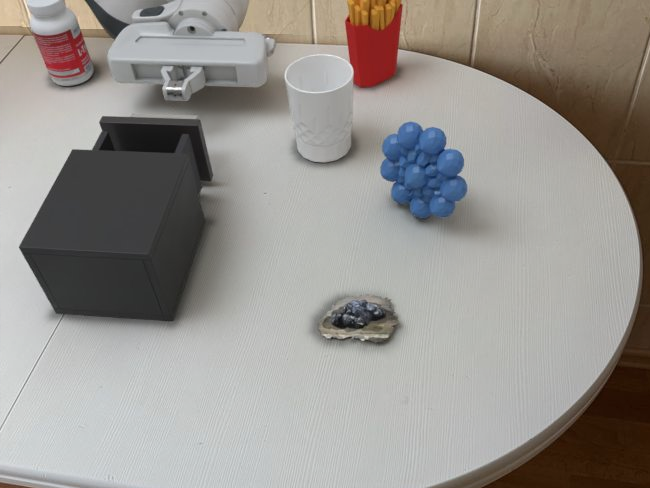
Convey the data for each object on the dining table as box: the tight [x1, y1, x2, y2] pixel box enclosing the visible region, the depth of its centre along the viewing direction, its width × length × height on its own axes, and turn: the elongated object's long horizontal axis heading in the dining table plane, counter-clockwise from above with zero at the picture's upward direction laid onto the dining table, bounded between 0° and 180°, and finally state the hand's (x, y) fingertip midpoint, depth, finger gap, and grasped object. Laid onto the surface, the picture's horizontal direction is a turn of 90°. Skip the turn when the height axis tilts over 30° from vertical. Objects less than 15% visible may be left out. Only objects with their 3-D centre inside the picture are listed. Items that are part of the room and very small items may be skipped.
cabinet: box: [18, 148, 207, 322], centre depth 73 cm, size 15×13×10 cm
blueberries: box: [317, 294, 400, 344], centre depth 69 cm, size 7×8×2 cm
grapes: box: [379, 121, 468, 219], centre depth 75 cm, size 12×7×12 cm, turn 43°
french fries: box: [344, 0, 404, 88], centre depth 92 cm, size 8×4×12 cm, turn 128°
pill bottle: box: [25, 0, 95, 87], centre depth 96 cm, size 6×6×11 cm
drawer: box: [91, 112, 214, 196], centre depth 79 cm, size 18×11×8 cm, turn 173°
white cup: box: [283, 53, 354, 163], centre depth 84 cm, size 8×8×10 cm
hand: (174, 95), depth 85 cm, fingers closed
